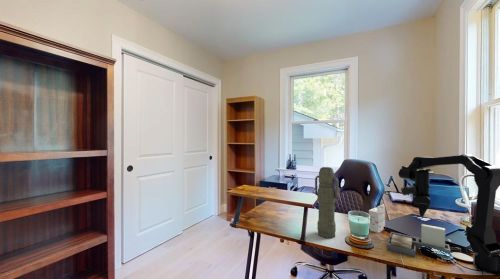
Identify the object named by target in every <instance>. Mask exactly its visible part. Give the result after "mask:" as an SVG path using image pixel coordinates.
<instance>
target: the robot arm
mask: <svg viewBox="0 0 500 279" xmlns="http://www.w3.org/2000/svg"><path fill="white" fill-rule="evenodd" d="M411 161H412V162H410V164H409V165H408V166H407V165H402V166H401V168H400V169H399V171H398V176H399V178H400V179H403V180H404V179H405V180H410V181H414V183H413V185H409V186H403V187H401V188H400V190H401V191H400V192H401V194H402V195H403V196H407V195H411V194H413V195H414V196H413V200H412V202H413V203H414V204H415V205H417V209H418V213H419V216H420V217H424V216H425V214H426V212H427V211H428V209H429V207H430V205H431V197H430V193H431V192H430V175H435V172H434V171H433V170H432V169H430V168H434V167H438V166H448V165H449V166H450V165H463V167H465V169H466V170H467V171H468V172H469V173H471V174H472V175H473V178H474V179H473V180H474V182H475V184H476V186H477V194H476V195H477V196H476V204H475V212H474V222H473V224H468V225H466V226H465V234H464V236H466V241H467V242H468V243H469V245H470V248H471V251H472V252H473V254H472V257H473V258H472V261H473V262H472V263H473V266H475V268H476V270H477V271H481V272H485V273H488V274H493V275H497V276H500V243H499V242H498V241H497V236H496V234H497V233H496V232H495V230H494V228H493V219H494V212H495V203H496V194H497V190H498V189H499V188H500V166H497V165H493V164H491V163H490V162H487V161H485V160H482V159H481V158H478V157H477V156H475V155H473V154H471V153H470V154H469V153H466V154H464V153H463V154H460V155H459V154H458V155H449V156H438V157H436V156H435V157H434V156H433V157H432V156H415V157H413V158H412V160H411Z"/></svg>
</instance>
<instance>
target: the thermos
mask: <svg viewBox="0 0 500 279" xmlns="http://www.w3.org/2000/svg"><path fill="white" fill-rule="evenodd" d="M339 182H340V181H339V178H337V177H335V172H334V169H333V168H332V167H328V166H322V167H320V168H319V171H318V175H316V176H315V178H314V194H315V195H316V196H317V203H318V220H317V222H316V225H317V229H316V230H317V235H318V236H319V237H320V238H324V239H334V238H335V237H336V230H337V229H336V221H335V209H336V208H335V203H336V199H337V198H339ZM318 183H319V184H318Z"/></svg>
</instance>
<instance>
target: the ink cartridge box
mask: <svg viewBox="0 0 500 279" xmlns="http://www.w3.org/2000/svg"><path fill="white" fill-rule="evenodd" d="M369 215H370V218H371V219H370V230H369V231H371V232H375V233H381V232H382V231H385V229H384V227H385V228H386V206H385V204H384V203H383V204H380V205H378V206H377V207H373V208H371V209H369V210H368V216H369Z"/></svg>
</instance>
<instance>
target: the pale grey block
mask: <svg viewBox="0 0 500 279" xmlns="http://www.w3.org/2000/svg"><path fill="white" fill-rule="evenodd" d="M420 232H421V243H424V244H429V245H433V246H437V247H442V248H445V244H446V228H444V227H441V226H434V225H428V224H424V223H421V231H420Z"/></svg>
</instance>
